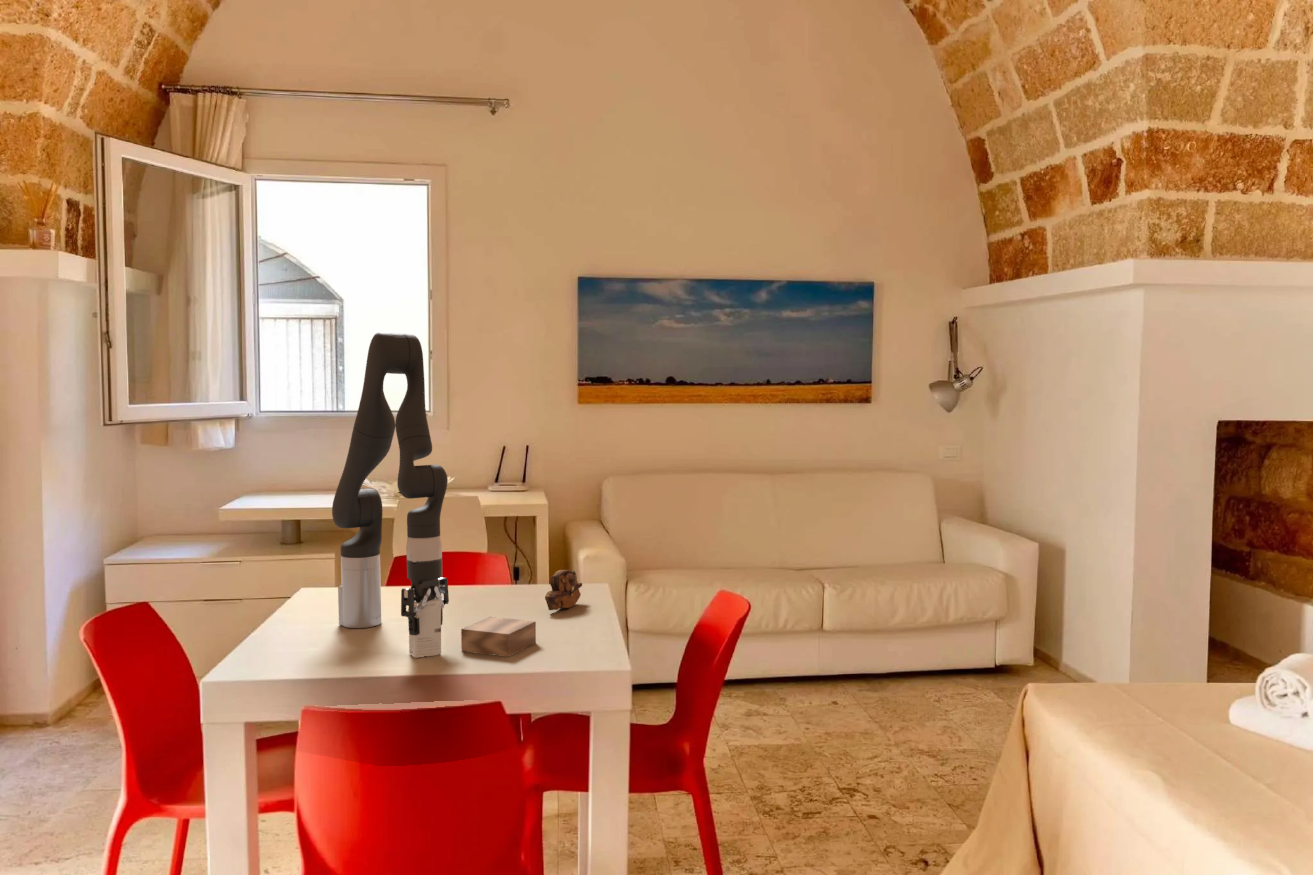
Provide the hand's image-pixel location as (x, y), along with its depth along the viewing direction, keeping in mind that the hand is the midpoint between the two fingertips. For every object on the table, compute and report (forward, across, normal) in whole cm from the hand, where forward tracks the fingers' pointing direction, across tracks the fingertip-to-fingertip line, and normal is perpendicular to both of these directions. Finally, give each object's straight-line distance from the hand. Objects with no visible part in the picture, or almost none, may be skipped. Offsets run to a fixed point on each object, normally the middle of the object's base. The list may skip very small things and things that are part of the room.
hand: (426, 629), depth 219 cm
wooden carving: (+6, -50, +8) cm, 51 cm away
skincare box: (+6, 0, 0) cm, 6 cm away
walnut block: (+6, -11, +12) cm, 17 cm away
